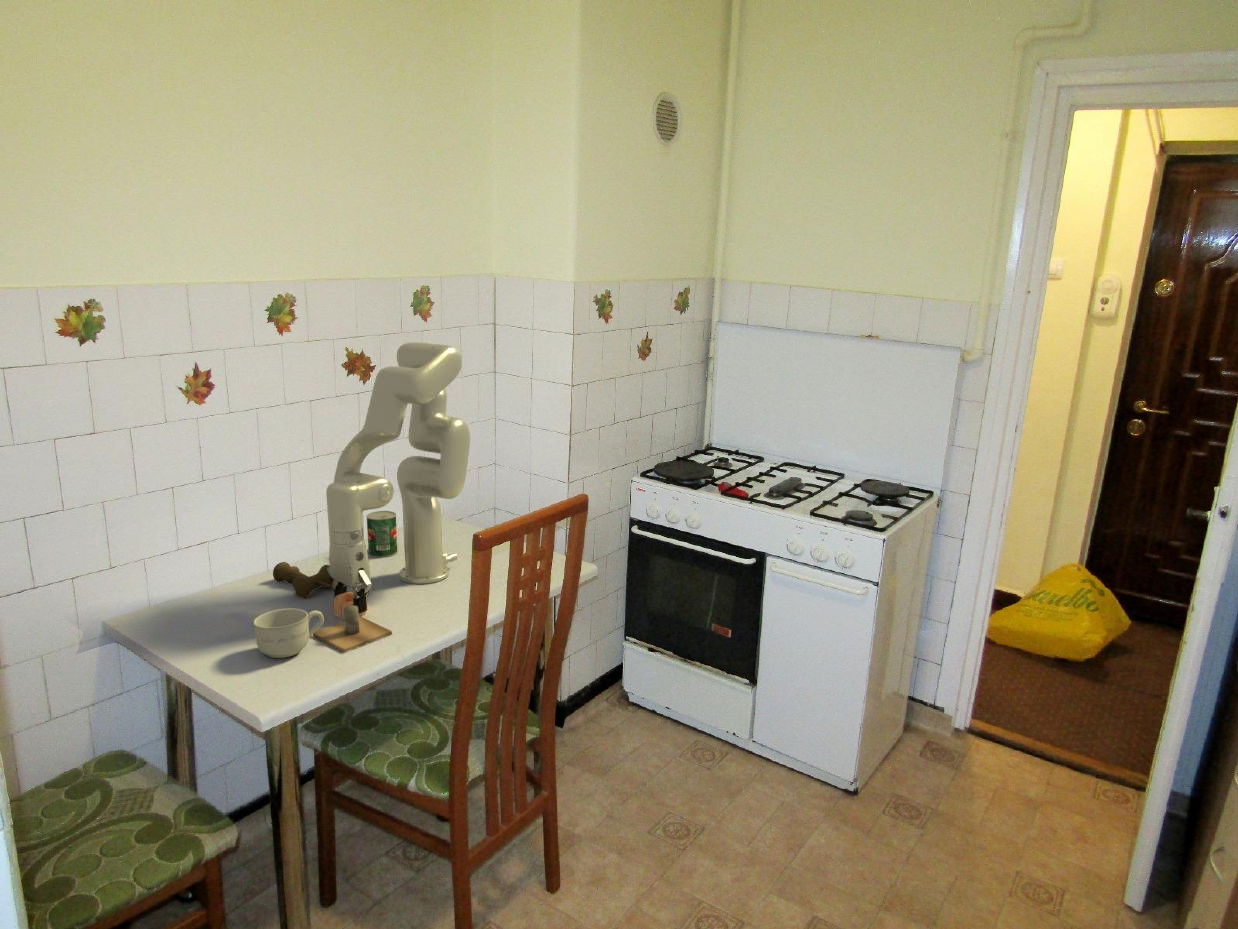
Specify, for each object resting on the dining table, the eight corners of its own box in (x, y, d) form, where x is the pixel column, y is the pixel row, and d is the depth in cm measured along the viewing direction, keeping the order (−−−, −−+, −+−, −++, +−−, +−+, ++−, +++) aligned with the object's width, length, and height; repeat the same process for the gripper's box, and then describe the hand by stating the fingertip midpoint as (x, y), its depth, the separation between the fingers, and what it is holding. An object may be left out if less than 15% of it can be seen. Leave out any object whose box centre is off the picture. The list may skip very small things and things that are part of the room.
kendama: (297, 576, 229) (349, 591, 219) (265, 588, 222) (317, 605, 211) (294, 554, 228) (346, 568, 217) (262, 566, 220) (314, 581, 209)
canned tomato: (363, 552, 246) (361, 514, 243) (388, 546, 251) (387, 508, 248) (377, 559, 240) (375, 521, 237) (403, 553, 245) (401, 515, 243)
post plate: (360, 619, 203) (358, 593, 201) (391, 634, 195) (390, 607, 194) (313, 636, 194) (311, 609, 192) (344, 652, 186) (342, 624, 185)
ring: (355, 603, 211) (354, 589, 210) (372, 611, 207) (371, 597, 206) (329, 612, 206) (328, 598, 205) (346, 620, 202) (345, 606, 201)
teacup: (257, 667, 180) (254, 631, 178) (255, 645, 189) (252, 610, 187) (328, 655, 185) (326, 620, 183) (323, 634, 195) (321, 601, 193)
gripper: (383, 540, 199) (386, 613, 204) (339, 523, 210) (343, 593, 214) (354, 548, 194) (358, 623, 198) (310, 531, 204) (315, 602, 209)
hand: (350, 607), depth 206 cm, fingers closed on ring, 7 cm apart
